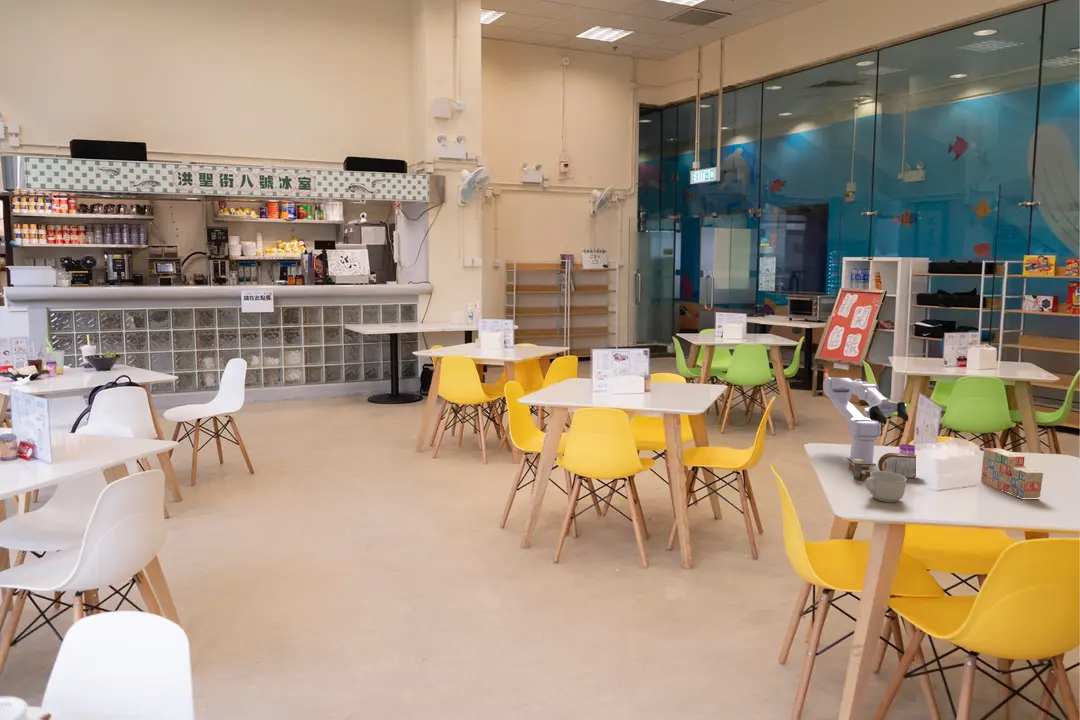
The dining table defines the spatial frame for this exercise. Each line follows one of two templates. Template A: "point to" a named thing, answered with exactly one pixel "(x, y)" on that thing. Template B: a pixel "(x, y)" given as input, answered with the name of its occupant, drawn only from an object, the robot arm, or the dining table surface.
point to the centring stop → (859, 469)
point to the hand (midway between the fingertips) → (896, 420)
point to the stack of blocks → (1010, 473)
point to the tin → (899, 464)
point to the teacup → (886, 485)
